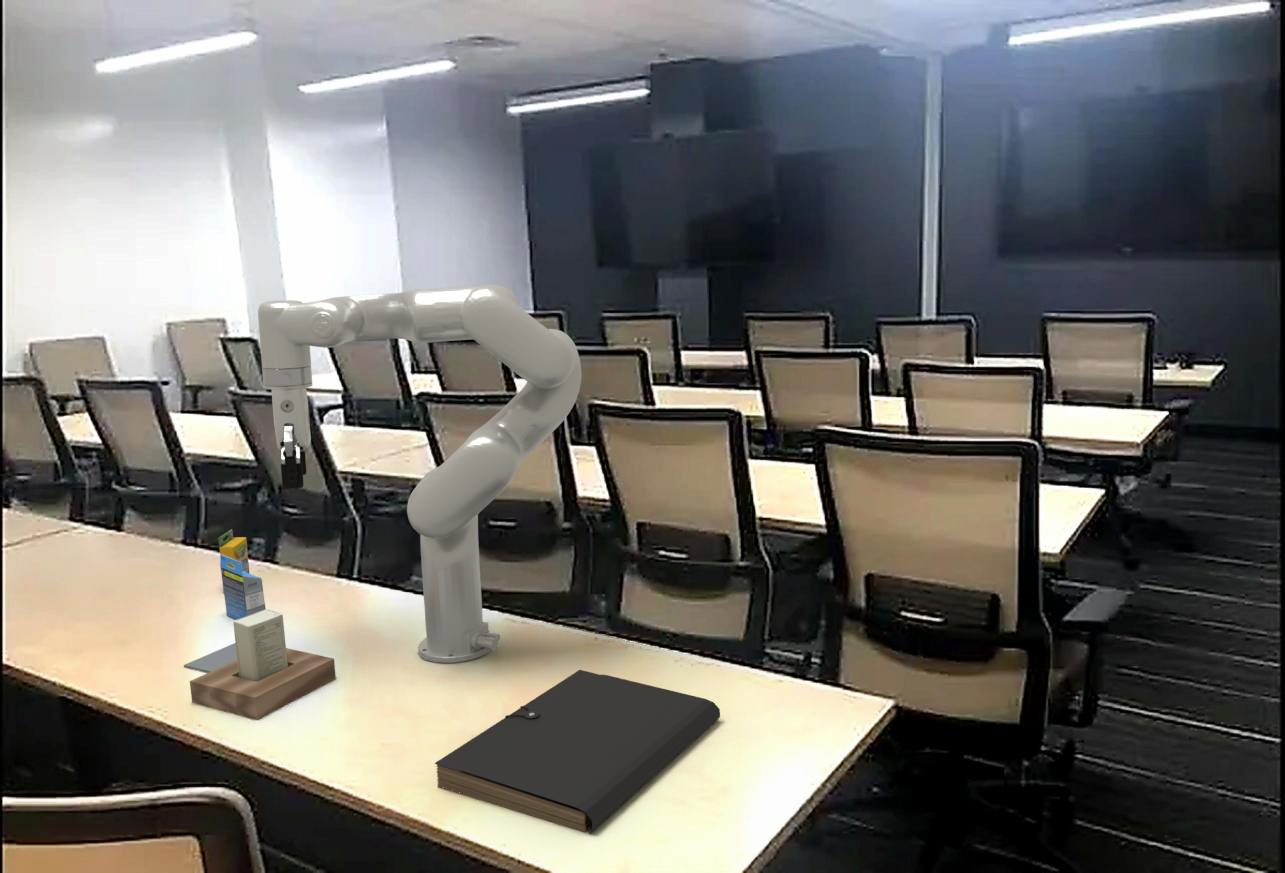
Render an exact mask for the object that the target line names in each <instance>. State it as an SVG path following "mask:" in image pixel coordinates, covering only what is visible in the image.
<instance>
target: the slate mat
mask: <svg viewBox="0 0 1285 873" xmlns="http://www.w3.org/2000/svg"><path fill="white" fill-rule="evenodd" d="M236 660H237V651H236V642H234V643H232V644H230V645H228V646H227V645H226V646H224V647H222V648H221V649H218V650H215V651H213V652H211V653H208V654H206V655H204V656H202V657H199V658H197V659H195V660H192V661H190V662H188V663H185V664H183V668H185V669H189V668H190V669H189V670H193V669H194V671H197V670H198V671H199V672H201V673H202V672H203V673H205V674H207V673H209V672H211V671H214V670H216V669H218V668H220V667H222V666H225V665H227V664H229V663H231V662H234V661H236ZM198 671H197V672H198Z"/></svg>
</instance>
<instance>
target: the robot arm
mask: <svg viewBox="0 0 1285 873" xmlns="http://www.w3.org/2000/svg"><path fill="white" fill-rule="evenodd" d="M257 314H258V315H257V316H258V330H259V331H258V332H259V342H260V344H259V345H260V356H261V357H260V358H261V359H260V360H261V370H262V383H263V384H262V385H263V386H262V387H263V389H264V390H271V398H272V399H271V402H272V403H271V404H272V414H273V425H274V431H275V432H274V433H275V439H276V446H277V449H279V451H281V463H280V470H281V471H280V473H281V487H282V489H284V490H288V489H302V488H303V487H304V476H305V475H306V474H307V464H306V463H307V462H306V461H307V459H306V450H307V449H309V447H310V445H311V440H312V437H311V435H312V434H311V428H310V427H311V424H310V412H309V401H308V392H307V388H310V387H312V386H313V375H312V372H313V371H312V359H311V358H312V357H311V347H318V348H326V349H327V348H336V347H338V346H340V345H343V344H345V343H348V342H356V341H369V340H370V341H372V340H387V339H393V340H394V339H397V340H398V339H399V340H406V341H410V342H413V343H419V344H420V343H422V344H423V343H424V344H426V343H439V342H440V343H441V342H449V341H452V342H453V341H454V342H455V341H466V340H468V341H469V340H474V341H475V342H476V343H477V344H478V345H480V346H481V347H482V348H483V349H485V350H486V351H487V352H488V353H490V354H491V355H492V356H493V357H495V358H496V359H497V360H499V361H500V362H501V363H502V364H504V365H505V366H507V367H508V368H509V369H510V370H511V371H513V372H514V373H515V374H517V375H518V376H519V377H520V378H522V380H523V379H524V381H526V384H525V385H524V386H523V387H522V389H521V390H519V392H518V393H517V394H515V396H513V397H512V399H511V400H509V401H508V402H507V404H506V405H505V406H504V407H503V408H502V409H500V410H499V411H498V412H497V413H496V414H494V416H492V418H490V420H487V421H486V423H484V424H483V425H481V427H479V428H477V429H476V430H474V431H473V432H472V433H471V434H470V435H469V436H468V438H466V440H465V442H463V444H462V445H461V446H460V447H459V448H457V450H456V451H455V452H453V453H452V455H450V456H449V457H448V458H447V459H446V460H445V461H444V462H443V463H441V464H440V465H439V466H437V467H435V468H433V469H431V470H429V471H428V472H427V473H426V474H425V475H423V477H422V478H421V480H419V481H418V483H417V485H416V486H415V488H414V489H413V490H412V492H411V494H410V495H409V498H408V501H407V507H406V508H407V509H406V513H407V517H408V521H409V523H410V525H411V526H412V527H411V528H413V530H415V532H417V533H418V534H419V535H420V536H419V538H420V542H419V543H420V556H421V560H420V561H421V577H422V589H423V592H422V593H423V603H424V605H423V606H424V619H425V632H426V633H425V635H426V637H425V638H423V639H422V640H421V641H420V642H419V643H418V646H417V651H418V654H419V656H420V657H421V658H422V659H424V660H427V661H430V662H432V663H433V662H434V663H443V664H446V663H447V664H451V663H460V662H461V663H462V662H467V661H471V660H475V659H478V658H481V657H482V656H484V655H487V654H488V653H489V652H490V651H492V650H493V651H495V650H497V649H498V647H499V642H500V641H501V637H502V636H501V634H500V633H496V632H490V630H489V622H486V621H484V620H483V618H484V617H483V604H482V603H483V601H482V600H483V599H482V587H481V586H482V585H481V584H482V583H481V570H480V569H481V568H480V567H481V566H480V550H479V549H480V548H479V547H480V546H479V517H478V516H479V514H480V512H482V511H483V510H484V509H485V508H486V507H487V506H488V505H490V503H491V502H492V501H494V500H495V499H496V498H497V497H498V496H499V495H500V494H501V493H502V492H503V491H504V490H506V488H508V486H509V485H510V484H511V483H512V481H513V480H514V479H515V477H516V475H517V473H518V471H519V468H520V466H521V464H522V463H523V462H524V460H526V458H528V457H529V456H530V455H531V454H532V453H533V452H534V451H535V450H537V448H538V447H539V446H540V445H542V443H543V442H545V440H546V439H547V438H548V437H549V436H550V435H551V434H552V433H553V432H554V431H556V429H557V428H558V427H559V426H560V425H561V424H562V423H563V422H564V421H565V419H566V418H567V416H568V415H569V414H570V413H571V410H572V409H573V407H574V405H575V403H576V401H577V398H578V395H579V393H580V388H581V384H582V382H581V381H582V366H581V359H580V355H579V352H578V349H577V348H578V347H577V346H576V344H575V342H574V341H573V339H572V338H571V337H570V336H569V335H568V334H567V333H566V332H564V331H562V330H559V329H556V328H554V329H553V328H549V329H548V327H546V326H544V325H543V324H542V323H540V322H539V321H538V320H536V318H534V317H533V316H532V315H530V314H529V313H528V312H527V311H525V310H524V309H523V308H522V307H520V305H519V302H518V299H517V298H516V296H515V294H513V292H512V291H511V290H510V289H508V288H506V287H505V286H502V285H500V284H483V285H482V284H481V285H480V284H479V285H466V286H454V287H453V286H452V287H439V288H437V287H436V288H422V289H421V288H420V289H411V290H405V291H401V292H393V293H376V294H365V295H364V294H363V295H349V296H348V295H345V296H337V297H336V296H335V297H331V298H330V297H329V298H327V299H322V300H317V301H311V302H302V301H299V300H286V299H285V300H269V301H264V302H262V303H261V304H259V306H258V310H257Z"/></svg>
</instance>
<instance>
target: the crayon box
mask: <svg viewBox="0 0 1285 873" xmlns="http://www.w3.org/2000/svg"><path fill="white" fill-rule="evenodd" d="M233 534H234V533H233V528H231V529H230V530H228V531H227V532H225V533H224V534H222V535H221V536H219V537H218V539H217V540H218V546H219V556H220V555H221V554H222V555H224V556H227V557H229V558H232V559H234V560H236V561H239V562H242V571H244V572H246V573H249V574H250V565H249V564H250V563H249V555H248V554H249V553H248V552H249V551H248V542H247V537H245V536H244V537H243V536H242V537H239V536H238V537H234V535H233ZM227 536H228V538H226V537H227ZM225 538H226V540H224V539H225ZM227 565H228V566H229V567H231V568H233V569H234V568H235V567H234V565H232V564H231V563H230V564H229V563H227ZM222 593H223V594H224V589H223V588H222Z"/></svg>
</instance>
